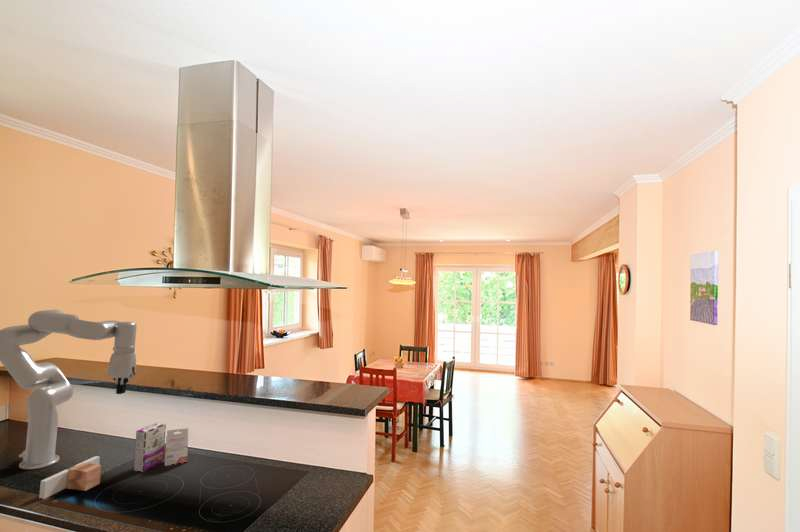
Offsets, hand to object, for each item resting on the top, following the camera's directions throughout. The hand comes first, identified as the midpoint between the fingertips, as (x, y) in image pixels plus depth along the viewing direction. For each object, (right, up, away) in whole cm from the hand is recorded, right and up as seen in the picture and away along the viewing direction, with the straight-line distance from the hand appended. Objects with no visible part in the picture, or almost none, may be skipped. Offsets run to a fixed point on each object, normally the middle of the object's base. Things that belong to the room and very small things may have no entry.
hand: (120, 393), depth 175 cm
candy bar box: (+15, -30, -4) cm, 33 cm away
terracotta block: (+1, -28, -22) cm, 36 cm away
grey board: (-4, -28, -22) cm, 35 cm away
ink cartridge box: (+23, -31, +1) cm, 38 cm away
